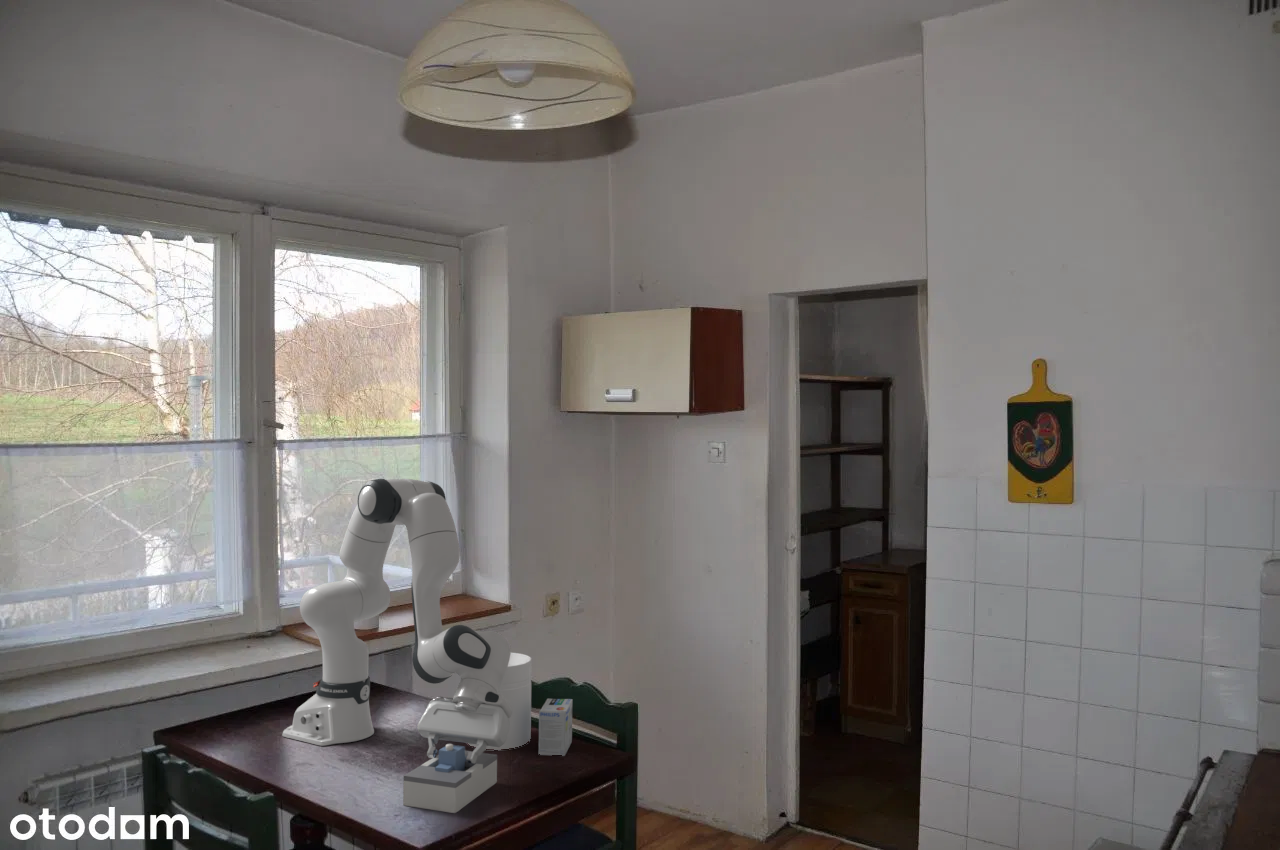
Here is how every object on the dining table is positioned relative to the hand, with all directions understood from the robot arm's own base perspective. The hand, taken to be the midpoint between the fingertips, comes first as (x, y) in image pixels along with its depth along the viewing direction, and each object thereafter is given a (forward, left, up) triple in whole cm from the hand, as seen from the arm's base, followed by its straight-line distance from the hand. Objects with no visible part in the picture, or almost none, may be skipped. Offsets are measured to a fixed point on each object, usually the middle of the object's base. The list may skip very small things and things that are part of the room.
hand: (450, 759), depth 197 cm
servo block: (0, +1, -6) cm, 6 cm away
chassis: (0, +1, -7) cm, 7 cm away
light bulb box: (+9, +35, -8) cm, 37 cm away
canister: (-7, +36, -8) cm, 37 cm away
